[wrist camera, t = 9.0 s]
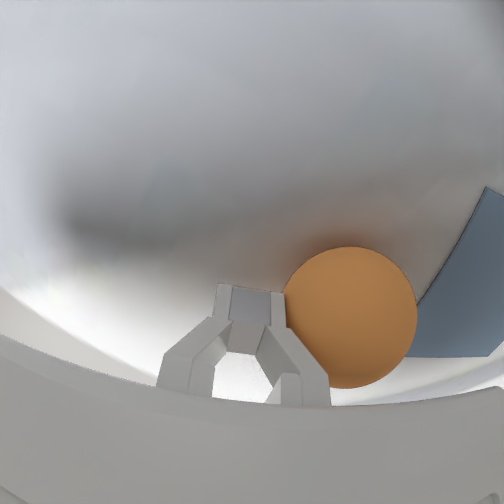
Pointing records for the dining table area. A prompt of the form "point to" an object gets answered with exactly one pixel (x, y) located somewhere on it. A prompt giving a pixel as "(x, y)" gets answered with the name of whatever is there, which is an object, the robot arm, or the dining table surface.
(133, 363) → the dining table surface
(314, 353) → the ball
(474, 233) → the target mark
